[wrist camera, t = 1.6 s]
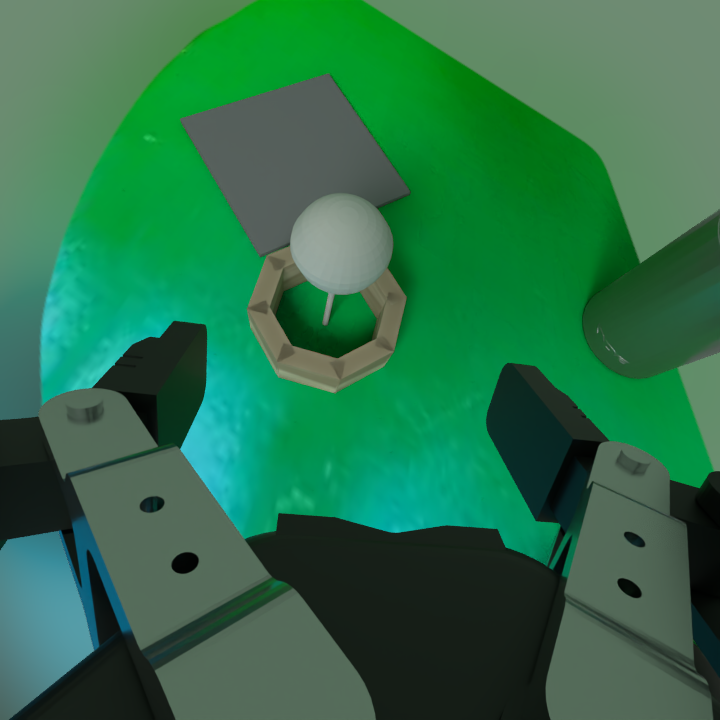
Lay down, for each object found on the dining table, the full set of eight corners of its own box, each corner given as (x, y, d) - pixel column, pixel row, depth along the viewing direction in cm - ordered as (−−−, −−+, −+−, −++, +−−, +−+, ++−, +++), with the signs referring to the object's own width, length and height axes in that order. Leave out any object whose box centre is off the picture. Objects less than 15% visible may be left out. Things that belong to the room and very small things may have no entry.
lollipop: (347, 284, 40) (381, 161, 26) (370, 343, 38) (420, 248, 24) (279, 301, 38) (276, 181, 24) (301, 364, 37) (310, 275, 23)
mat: (328, 77, 47) (328, 73, 47) (409, 194, 44) (410, 191, 43) (181, 122, 42) (180, 118, 42) (260, 257, 39) (259, 254, 39)
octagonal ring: (348, 244, 41) (355, 218, 37) (415, 349, 39) (429, 332, 35) (232, 295, 38) (226, 272, 34) (298, 413, 36) (299, 402, 32)
